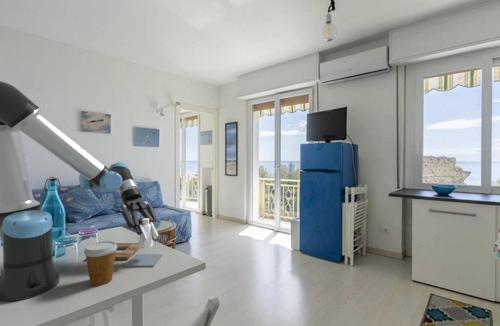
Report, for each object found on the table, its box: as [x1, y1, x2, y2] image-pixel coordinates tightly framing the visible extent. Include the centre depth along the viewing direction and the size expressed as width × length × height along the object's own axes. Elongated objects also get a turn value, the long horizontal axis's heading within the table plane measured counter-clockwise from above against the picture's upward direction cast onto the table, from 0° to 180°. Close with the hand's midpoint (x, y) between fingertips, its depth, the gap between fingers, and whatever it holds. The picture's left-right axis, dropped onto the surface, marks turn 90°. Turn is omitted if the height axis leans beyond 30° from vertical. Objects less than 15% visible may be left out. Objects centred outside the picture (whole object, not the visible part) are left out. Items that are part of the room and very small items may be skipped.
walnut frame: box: [115, 242, 141, 261], centre depth 109 cm, size 16×16×2 cm
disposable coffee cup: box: [83, 240, 117, 287], centre depth 84 cm, size 10×10×12 cm
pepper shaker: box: [138, 217, 154, 249], centre depth 100 cm, size 5×5×11 cm
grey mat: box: [123, 253, 163, 268], centre depth 100 cm, size 11×11×1 cm
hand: (151, 238), depth 98 cm, fingers closed on pepper shaker, 4 cm apart
